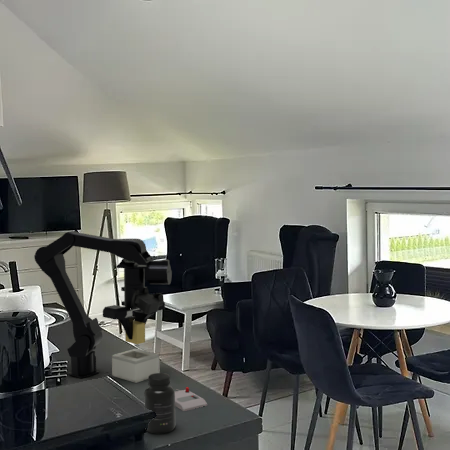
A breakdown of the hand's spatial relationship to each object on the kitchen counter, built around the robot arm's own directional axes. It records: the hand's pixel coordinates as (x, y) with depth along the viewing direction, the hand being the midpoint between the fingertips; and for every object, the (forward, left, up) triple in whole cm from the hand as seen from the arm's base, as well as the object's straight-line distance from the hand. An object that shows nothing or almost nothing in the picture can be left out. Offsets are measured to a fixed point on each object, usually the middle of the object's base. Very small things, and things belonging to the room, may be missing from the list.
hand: (135, 338), depth 176 cm
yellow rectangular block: (0, 0, -1) cm, 1 cm away
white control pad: (-7, -25, -12) cm, 28 cm away
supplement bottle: (-22, -33, -11) cm, 41 cm away
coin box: (0, 0, -11) cm, 11 cm away
